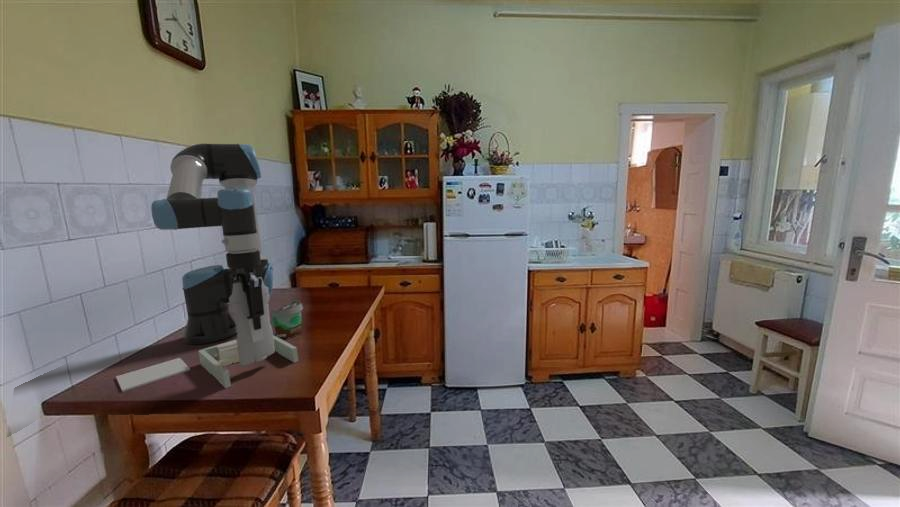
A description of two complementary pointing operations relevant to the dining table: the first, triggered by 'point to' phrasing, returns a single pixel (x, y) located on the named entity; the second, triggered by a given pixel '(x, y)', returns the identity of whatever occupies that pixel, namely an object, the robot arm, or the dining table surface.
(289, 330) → the food container
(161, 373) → the mat
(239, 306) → the tall pale column
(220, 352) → the offcut upper
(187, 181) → the robot arm
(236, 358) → the offcut lower
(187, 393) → the dining table surface
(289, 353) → the rack
